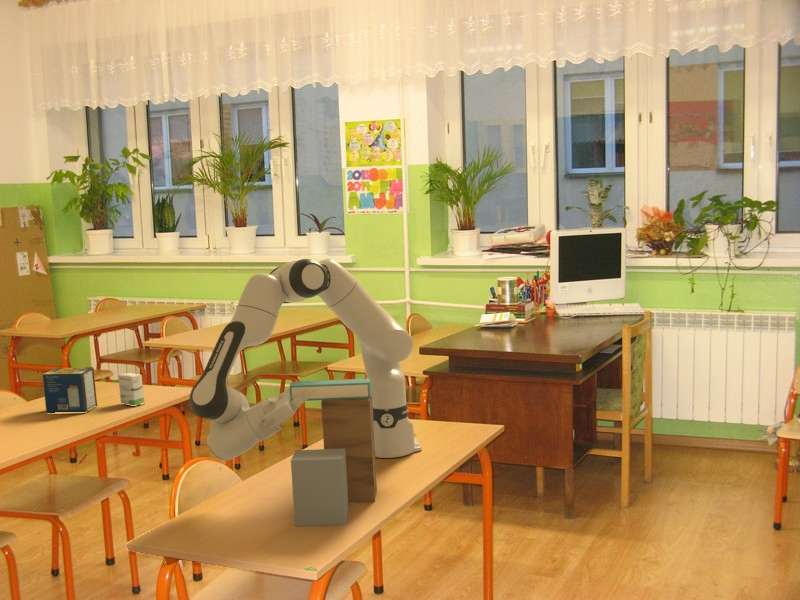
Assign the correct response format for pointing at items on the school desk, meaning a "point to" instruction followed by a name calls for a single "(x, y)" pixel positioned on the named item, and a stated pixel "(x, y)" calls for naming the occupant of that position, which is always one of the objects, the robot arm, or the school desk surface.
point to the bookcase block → (353, 443)
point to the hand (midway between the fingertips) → (311, 389)
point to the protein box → (69, 390)
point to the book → (332, 389)
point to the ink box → (131, 388)
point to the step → (320, 487)
